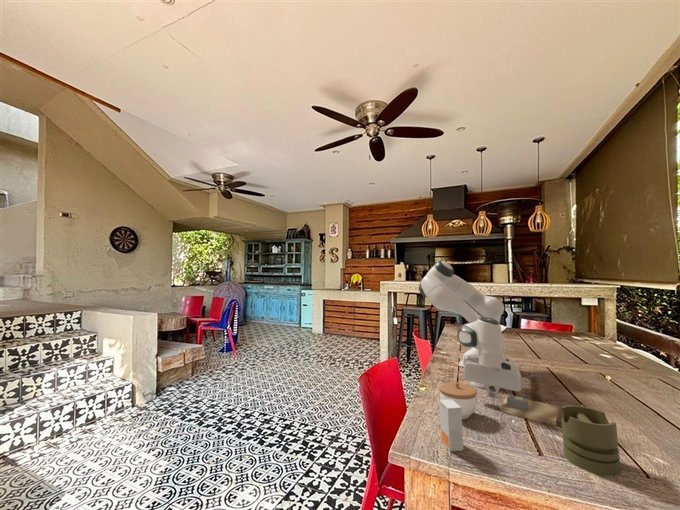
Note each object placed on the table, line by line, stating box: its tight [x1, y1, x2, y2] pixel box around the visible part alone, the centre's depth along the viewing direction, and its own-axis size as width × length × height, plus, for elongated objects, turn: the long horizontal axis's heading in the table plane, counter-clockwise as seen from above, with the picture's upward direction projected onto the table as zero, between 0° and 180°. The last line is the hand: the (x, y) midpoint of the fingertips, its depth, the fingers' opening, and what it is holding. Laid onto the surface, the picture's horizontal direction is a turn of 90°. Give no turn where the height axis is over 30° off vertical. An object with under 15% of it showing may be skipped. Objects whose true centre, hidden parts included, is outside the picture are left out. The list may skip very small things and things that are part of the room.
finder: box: [506, 394, 529, 411], centre depth 105 cm, size 6×4×3 cm, turn 49°
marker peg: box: [528, 374, 543, 403], centre depth 114 cm, size 4×4×10 cm
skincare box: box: [439, 399, 464, 453], centre depth 85 cm, size 6×4×12 cm
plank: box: [499, 394, 563, 428], centre depth 103 cm, size 24×14×2 cm, turn 49°
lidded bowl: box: [438, 381, 478, 420], centre depth 104 cm, size 13×13×11 cm
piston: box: [561, 405, 621, 477], centre depth 77 cm, size 11×12×11 cm
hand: (492, 397), depth 111 cm, fingers closed
